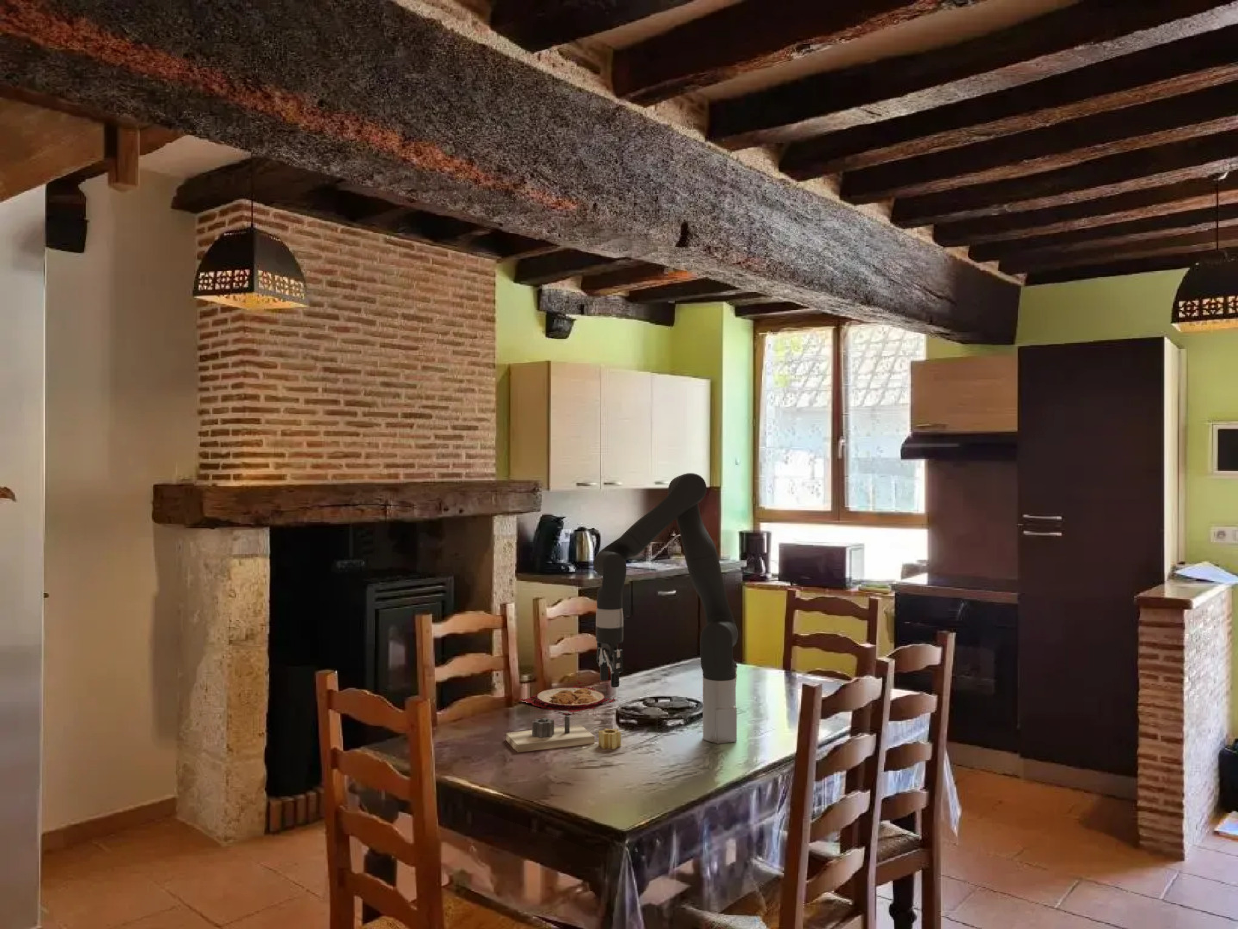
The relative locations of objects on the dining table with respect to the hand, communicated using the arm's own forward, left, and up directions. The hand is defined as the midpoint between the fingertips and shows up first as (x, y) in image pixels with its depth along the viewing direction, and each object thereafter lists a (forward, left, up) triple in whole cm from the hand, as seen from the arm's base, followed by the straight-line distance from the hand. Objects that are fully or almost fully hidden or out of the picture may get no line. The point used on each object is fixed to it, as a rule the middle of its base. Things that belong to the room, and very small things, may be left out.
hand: (609, 683), depth 256 cm
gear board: (+10, +14, -17) cm, 24 cm away
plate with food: (+50, -6, -18) cm, 53 cm away
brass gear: (0, 0, -17) cm, 17 cm away
